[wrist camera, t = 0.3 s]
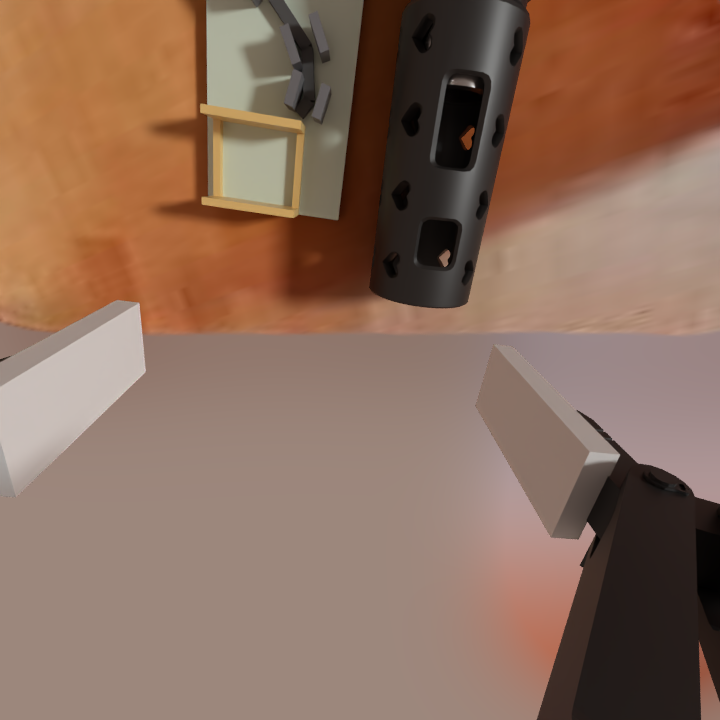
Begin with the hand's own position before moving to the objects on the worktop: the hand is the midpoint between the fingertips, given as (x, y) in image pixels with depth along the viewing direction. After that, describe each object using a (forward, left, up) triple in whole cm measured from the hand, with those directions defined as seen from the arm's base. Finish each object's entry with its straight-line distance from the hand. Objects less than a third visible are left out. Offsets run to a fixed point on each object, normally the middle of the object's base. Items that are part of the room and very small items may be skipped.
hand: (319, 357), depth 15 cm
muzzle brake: (-12, +7, -27) cm, 31 cm away
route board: (-12, -6, -27) cm, 30 cm away
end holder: (-6, -8, -27) cm, 29 cm away
